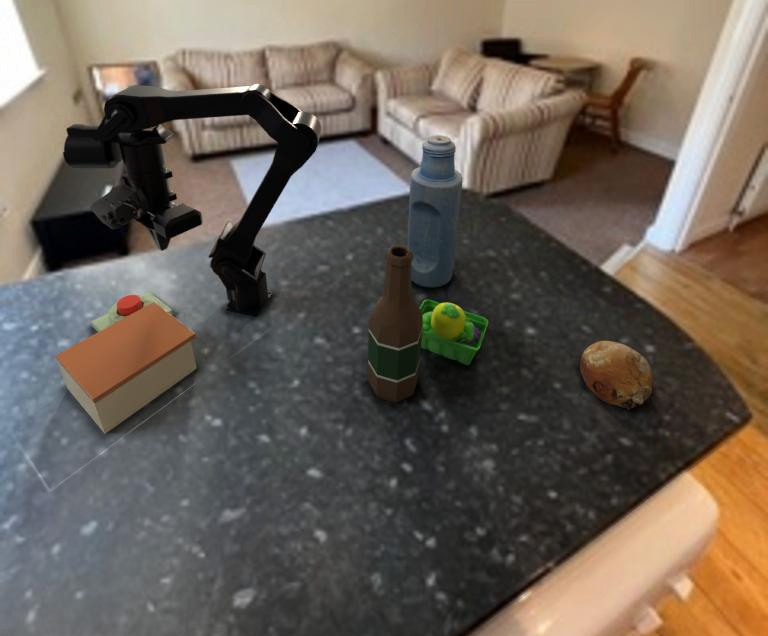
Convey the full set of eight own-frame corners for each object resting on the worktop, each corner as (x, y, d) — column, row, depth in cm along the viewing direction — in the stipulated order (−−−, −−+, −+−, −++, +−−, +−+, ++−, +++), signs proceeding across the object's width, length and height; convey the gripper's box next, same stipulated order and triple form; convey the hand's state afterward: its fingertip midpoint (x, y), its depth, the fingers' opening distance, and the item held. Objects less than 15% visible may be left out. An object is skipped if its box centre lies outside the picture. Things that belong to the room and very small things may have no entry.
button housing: (149, 296, 84) (146, 283, 83) (173, 315, 80) (170, 301, 79) (92, 327, 77) (88, 313, 76) (115, 349, 73) (111, 335, 71)
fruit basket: (486, 341, 76) (494, 288, 72) (472, 380, 69) (481, 324, 64) (423, 320, 81) (427, 269, 76) (404, 354, 73) (408, 300, 68)
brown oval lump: (639, 391, 72) (647, 343, 72) (658, 423, 62) (668, 367, 62) (573, 374, 75) (582, 327, 75) (582, 401, 65) (592, 347, 65)
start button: (135, 299, 80) (133, 291, 79) (146, 308, 78) (144, 300, 77) (114, 310, 77) (112, 302, 76) (125, 319, 75) (122, 311, 74)
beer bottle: (366, 362, 72) (368, 235, 61) (414, 360, 72) (424, 234, 62) (369, 406, 64) (371, 270, 54) (422, 403, 65) (434, 268, 55)
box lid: (155, 305, 74) (154, 301, 74) (196, 337, 68) (195, 333, 67) (56, 359, 63) (54, 355, 63) (94, 403, 57) (92, 399, 57)
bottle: (459, 270, 94) (475, 136, 82) (439, 295, 87) (453, 152, 74) (419, 255, 99) (429, 126, 86) (396, 278, 91) (403, 140, 79)
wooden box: (157, 334, 76) (150, 307, 73) (196, 368, 70) (191, 340, 67) (67, 388, 66) (56, 360, 63) (105, 434, 60) (94, 404, 57)
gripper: (64, 167, 70) (88, 250, 77) (122, 203, 60) (145, 295, 67) (135, 147, 78) (152, 224, 85) (197, 176, 69) (210, 260, 75)
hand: (163, 249), depth 78 cm, fingers closed
